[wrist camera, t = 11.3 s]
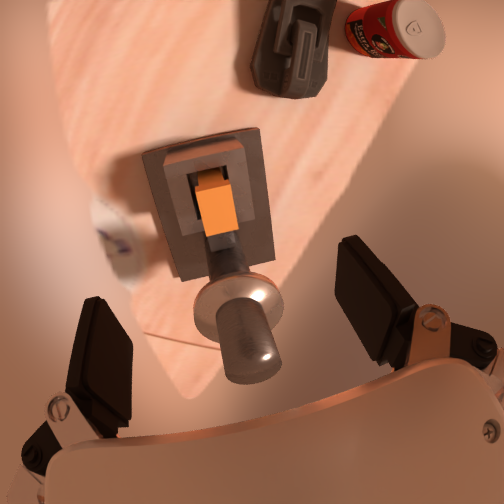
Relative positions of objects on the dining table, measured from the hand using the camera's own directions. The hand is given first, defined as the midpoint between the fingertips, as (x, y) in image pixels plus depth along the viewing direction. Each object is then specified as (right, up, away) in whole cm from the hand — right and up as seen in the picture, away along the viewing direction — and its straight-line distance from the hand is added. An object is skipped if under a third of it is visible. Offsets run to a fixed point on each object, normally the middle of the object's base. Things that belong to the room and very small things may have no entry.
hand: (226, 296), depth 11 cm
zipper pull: (+6, +31, +14) cm, 35 cm away
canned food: (+16, +31, +16) cm, 39 cm away
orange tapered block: (-4, +11, +23) cm, 25 cm away
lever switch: (-4, +7, +26) cm, 28 cm away
